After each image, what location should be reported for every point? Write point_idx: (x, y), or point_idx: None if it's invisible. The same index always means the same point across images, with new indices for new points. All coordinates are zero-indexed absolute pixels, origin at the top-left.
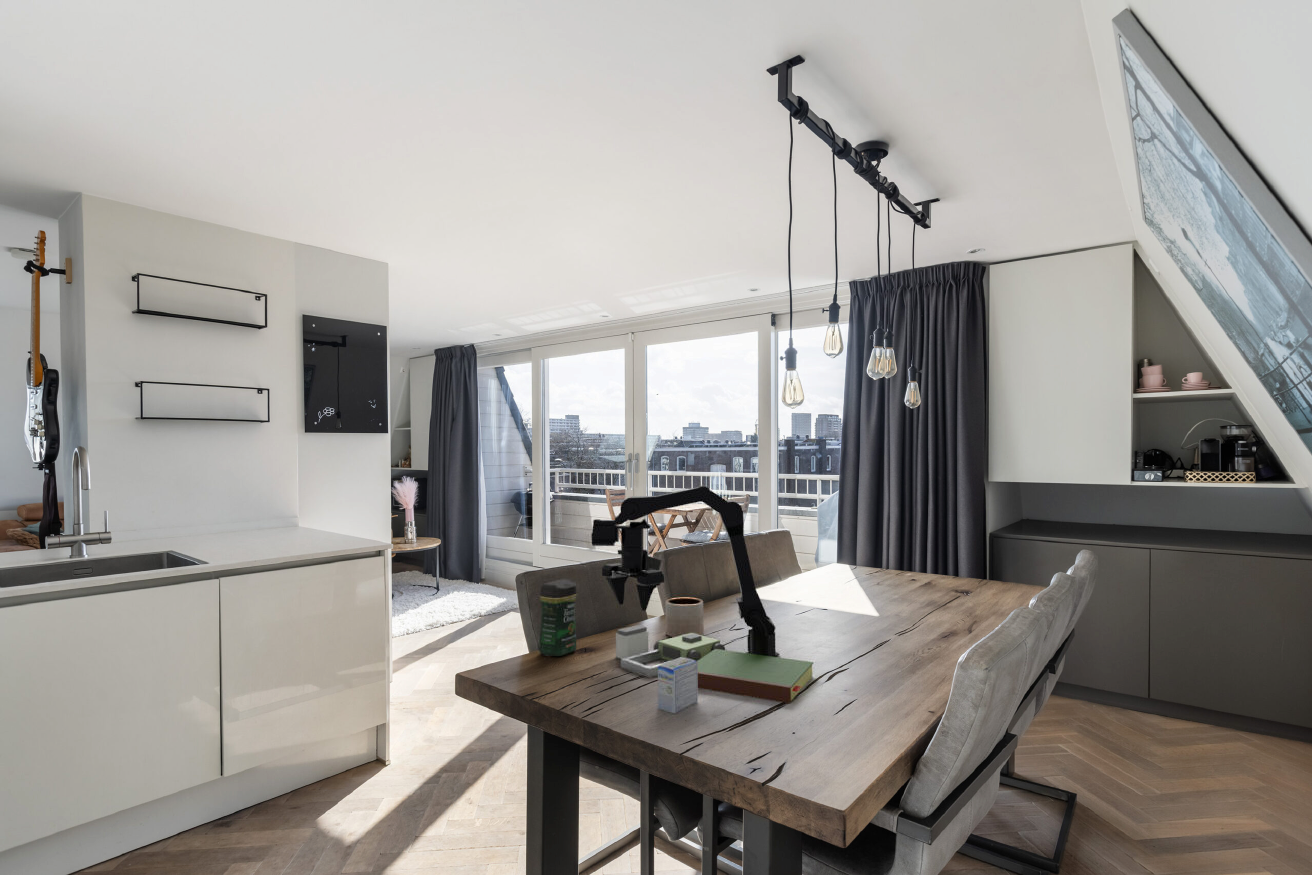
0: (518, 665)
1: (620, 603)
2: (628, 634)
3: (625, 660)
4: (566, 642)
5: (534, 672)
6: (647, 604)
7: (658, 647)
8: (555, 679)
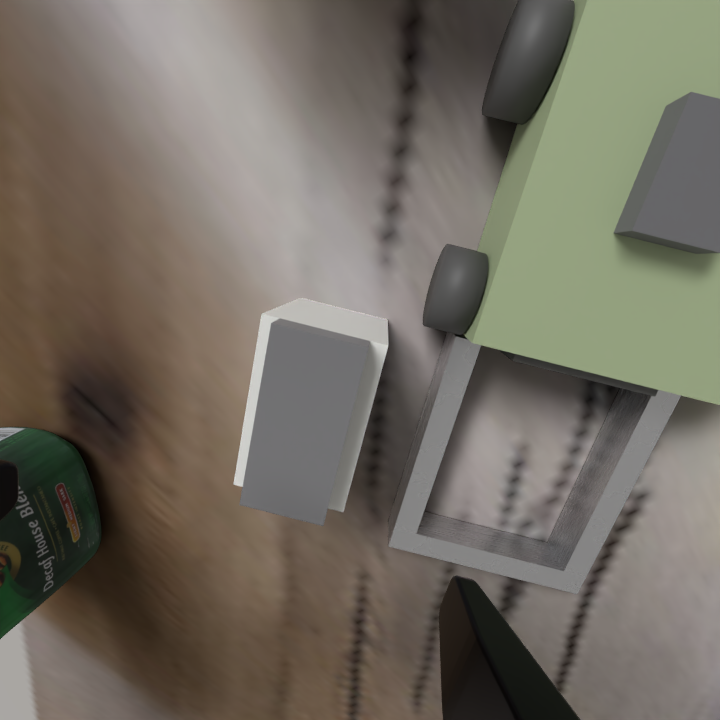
0: (80, 652)
1: (4, 510)
2: (332, 491)
3: (418, 551)
4: (61, 551)
5: (178, 676)
6: (523, 660)
7: (464, 335)
8: (282, 694)
